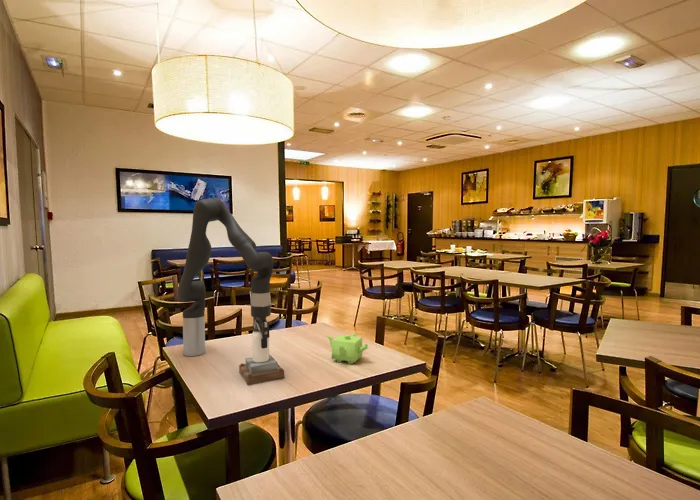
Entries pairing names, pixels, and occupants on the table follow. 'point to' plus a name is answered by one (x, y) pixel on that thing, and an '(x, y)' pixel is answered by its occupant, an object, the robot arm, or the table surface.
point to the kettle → (347, 348)
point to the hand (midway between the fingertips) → (261, 344)
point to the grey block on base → (260, 371)
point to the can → (259, 348)
